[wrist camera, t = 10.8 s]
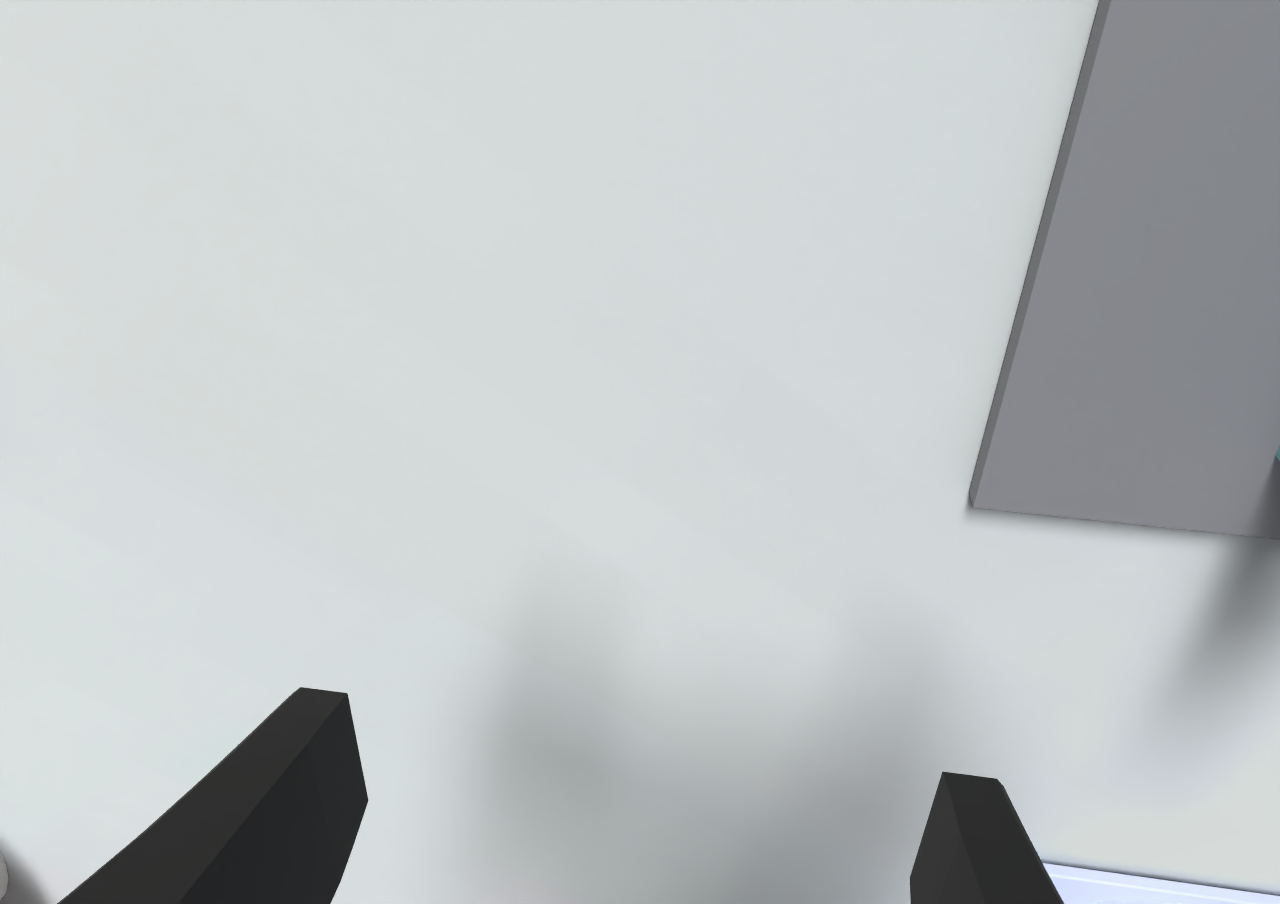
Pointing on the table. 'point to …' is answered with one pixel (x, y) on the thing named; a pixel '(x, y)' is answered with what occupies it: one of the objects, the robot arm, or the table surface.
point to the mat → (1154, 285)
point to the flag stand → (3, 877)
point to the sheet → (1278, 453)
